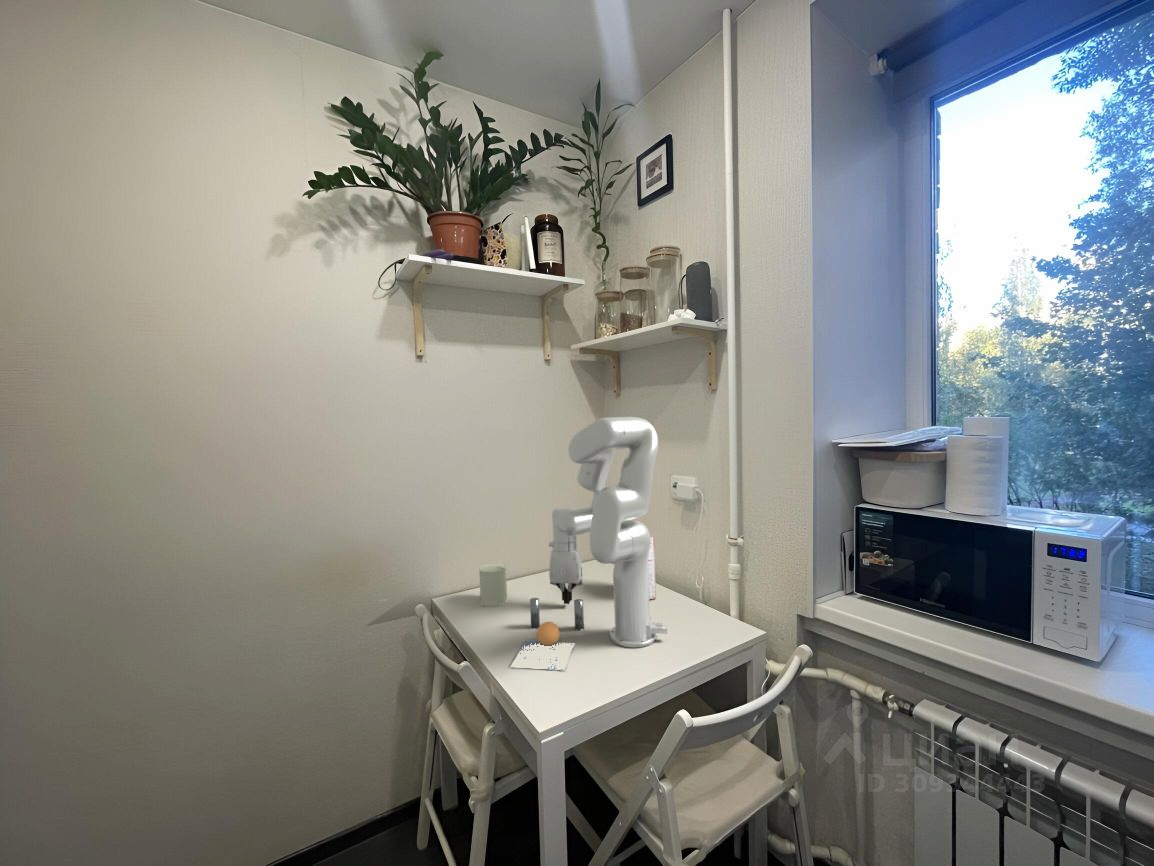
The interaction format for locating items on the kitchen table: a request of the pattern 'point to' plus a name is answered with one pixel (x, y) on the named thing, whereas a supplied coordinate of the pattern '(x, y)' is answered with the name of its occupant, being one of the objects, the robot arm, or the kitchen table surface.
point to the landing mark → (528, 642)
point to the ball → (548, 634)
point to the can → (493, 584)
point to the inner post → (579, 614)
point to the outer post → (534, 612)
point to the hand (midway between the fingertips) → (567, 602)
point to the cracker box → (651, 571)
